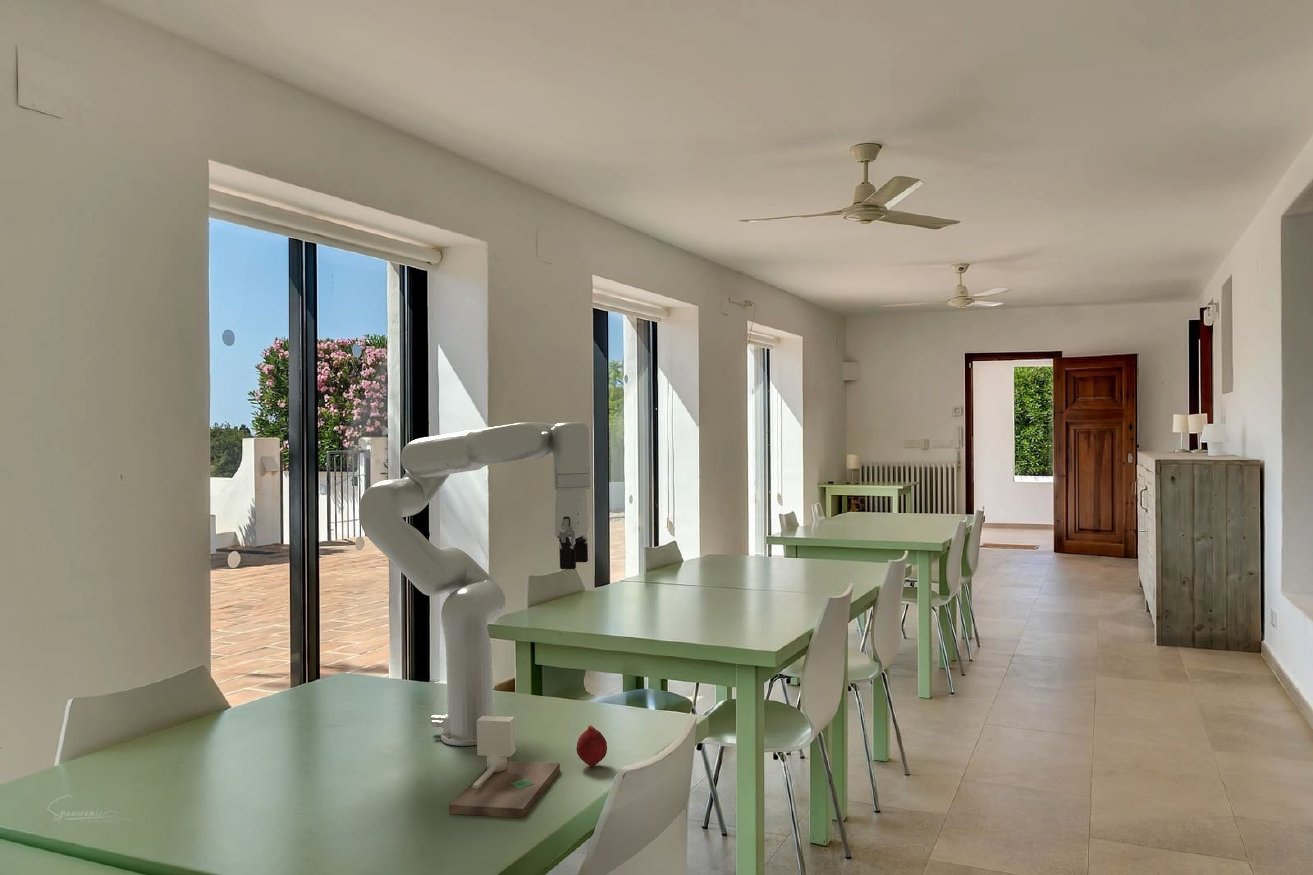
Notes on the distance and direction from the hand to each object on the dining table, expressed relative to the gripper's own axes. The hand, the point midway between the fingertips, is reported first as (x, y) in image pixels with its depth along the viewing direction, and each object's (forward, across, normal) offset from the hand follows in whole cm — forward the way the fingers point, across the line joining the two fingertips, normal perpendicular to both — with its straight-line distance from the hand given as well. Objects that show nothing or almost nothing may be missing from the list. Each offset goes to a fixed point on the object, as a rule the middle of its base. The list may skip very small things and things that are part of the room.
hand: (574, 565), depth 187 cm
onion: (+36, +14, +6) cm, 39 cm away
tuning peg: (+34, +26, -10) cm, 44 cm away
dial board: (+36, +27, -6) cm, 46 cm away
